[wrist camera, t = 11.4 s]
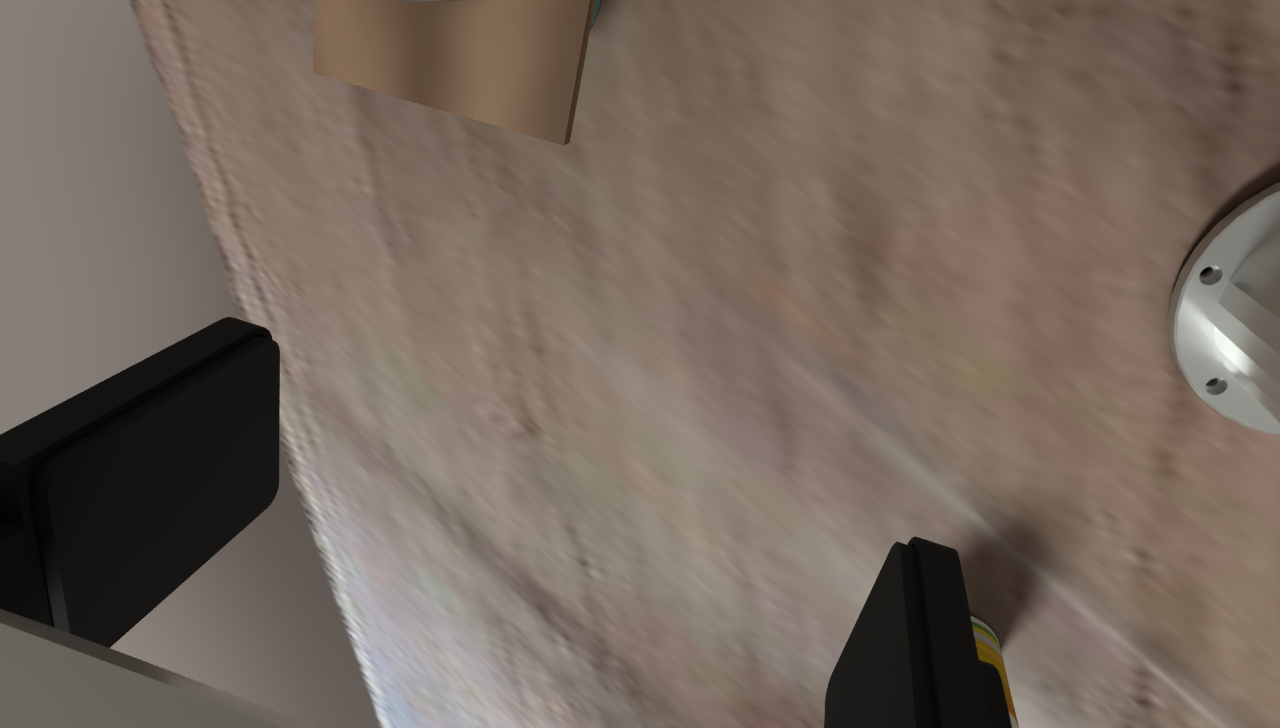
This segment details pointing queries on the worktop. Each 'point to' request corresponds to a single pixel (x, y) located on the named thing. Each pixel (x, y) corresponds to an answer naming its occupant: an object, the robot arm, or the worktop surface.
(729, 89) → the worktop surface
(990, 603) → the worktop surface
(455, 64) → the lid
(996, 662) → the supplement bottle
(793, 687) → the worktop surface
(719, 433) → the worktop surface
